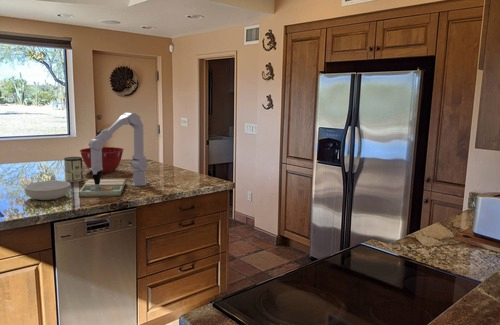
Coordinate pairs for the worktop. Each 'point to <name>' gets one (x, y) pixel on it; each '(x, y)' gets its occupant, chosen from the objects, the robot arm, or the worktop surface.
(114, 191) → the box
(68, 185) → the serving bowl
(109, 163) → the mixing bowl
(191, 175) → the worktop surface
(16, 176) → the worktop surface
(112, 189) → the terracotta tile
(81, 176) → the coffee can
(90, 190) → the slate tile
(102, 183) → the birch board
